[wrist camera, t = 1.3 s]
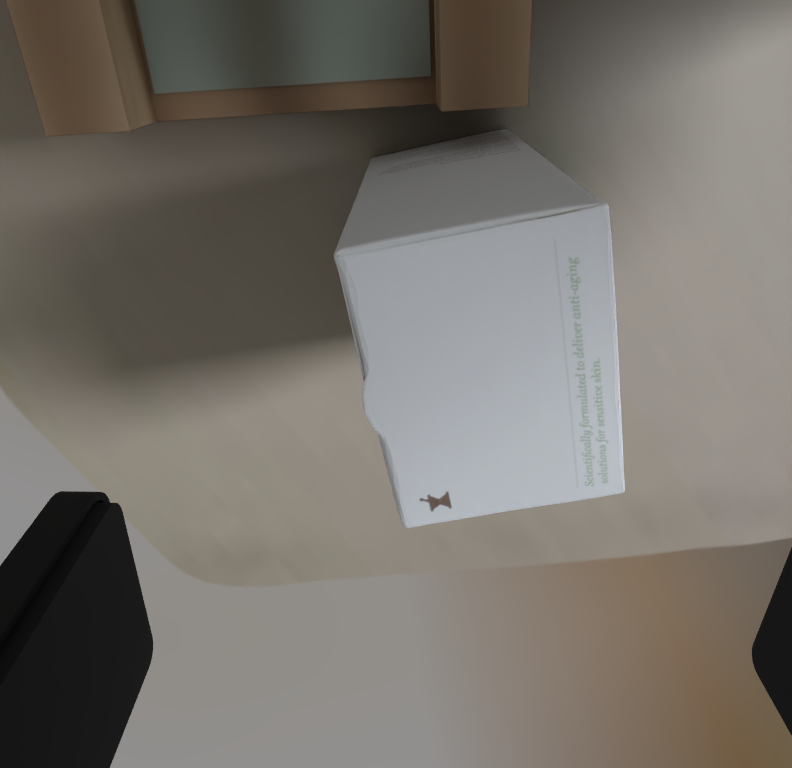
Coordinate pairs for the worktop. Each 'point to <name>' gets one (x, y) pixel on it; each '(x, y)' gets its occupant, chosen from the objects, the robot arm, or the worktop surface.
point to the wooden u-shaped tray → (265, 57)
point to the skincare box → (484, 328)
